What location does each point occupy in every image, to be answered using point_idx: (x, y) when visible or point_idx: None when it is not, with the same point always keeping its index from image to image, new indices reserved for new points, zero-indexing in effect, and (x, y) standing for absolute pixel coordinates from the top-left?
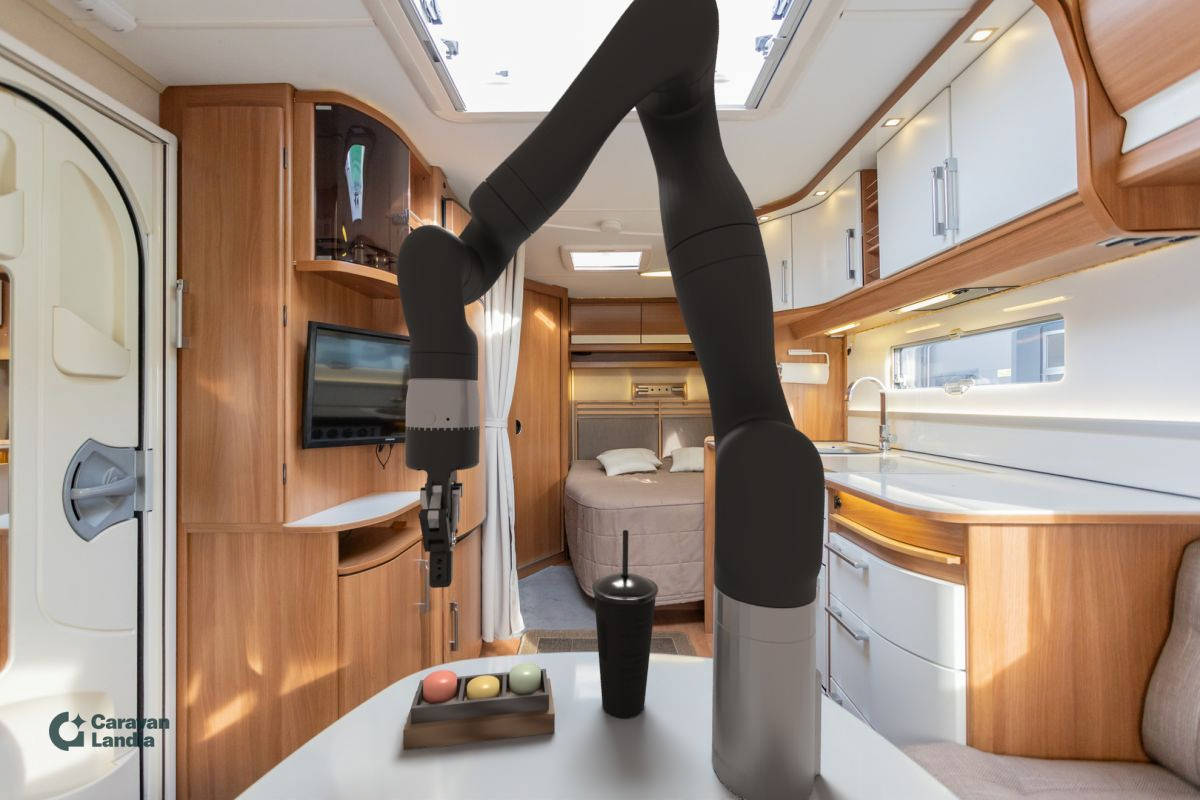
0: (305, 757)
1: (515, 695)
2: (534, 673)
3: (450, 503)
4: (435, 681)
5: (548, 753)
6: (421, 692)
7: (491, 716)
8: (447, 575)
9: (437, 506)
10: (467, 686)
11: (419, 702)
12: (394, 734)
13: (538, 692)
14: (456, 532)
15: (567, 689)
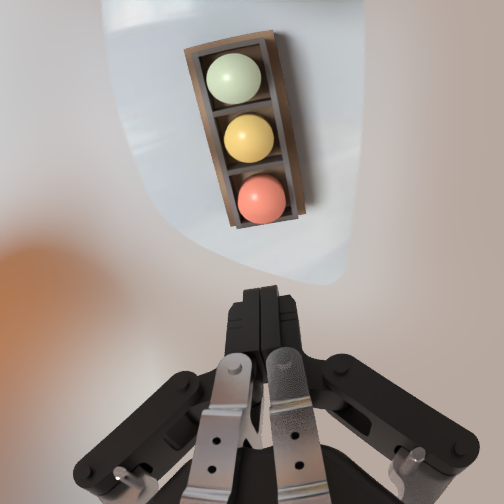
0: (307, 282)
1: None
2: (239, 62)
3: (344, 493)
4: (268, 207)
5: (309, 37)
6: None
7: (282, 114)
8: (278, 306)
9: (448, 483)
10: (255, 161)
11: None
12: None
13: None
14: (187, 380)
15: (172, 28)
